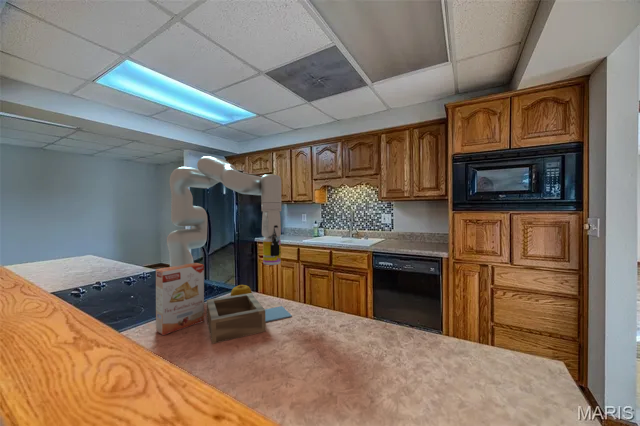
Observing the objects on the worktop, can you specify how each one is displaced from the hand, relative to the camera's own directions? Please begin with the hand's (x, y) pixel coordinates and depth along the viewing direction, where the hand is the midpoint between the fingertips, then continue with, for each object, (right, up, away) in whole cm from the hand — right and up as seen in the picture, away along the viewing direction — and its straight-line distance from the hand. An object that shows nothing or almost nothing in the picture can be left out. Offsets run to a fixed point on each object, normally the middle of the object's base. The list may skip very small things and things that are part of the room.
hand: (272, 253), depth 99 cm
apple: (-15, -24, +9) cm, 29 cm away
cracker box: (-30, -24, -9) cm, 39 cm away
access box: (-12, -23, -8) cm, 27 cm away
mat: (0, -23, 0) cm, 23 cm away
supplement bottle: (0, -4, 0) cm, 4 cm away
